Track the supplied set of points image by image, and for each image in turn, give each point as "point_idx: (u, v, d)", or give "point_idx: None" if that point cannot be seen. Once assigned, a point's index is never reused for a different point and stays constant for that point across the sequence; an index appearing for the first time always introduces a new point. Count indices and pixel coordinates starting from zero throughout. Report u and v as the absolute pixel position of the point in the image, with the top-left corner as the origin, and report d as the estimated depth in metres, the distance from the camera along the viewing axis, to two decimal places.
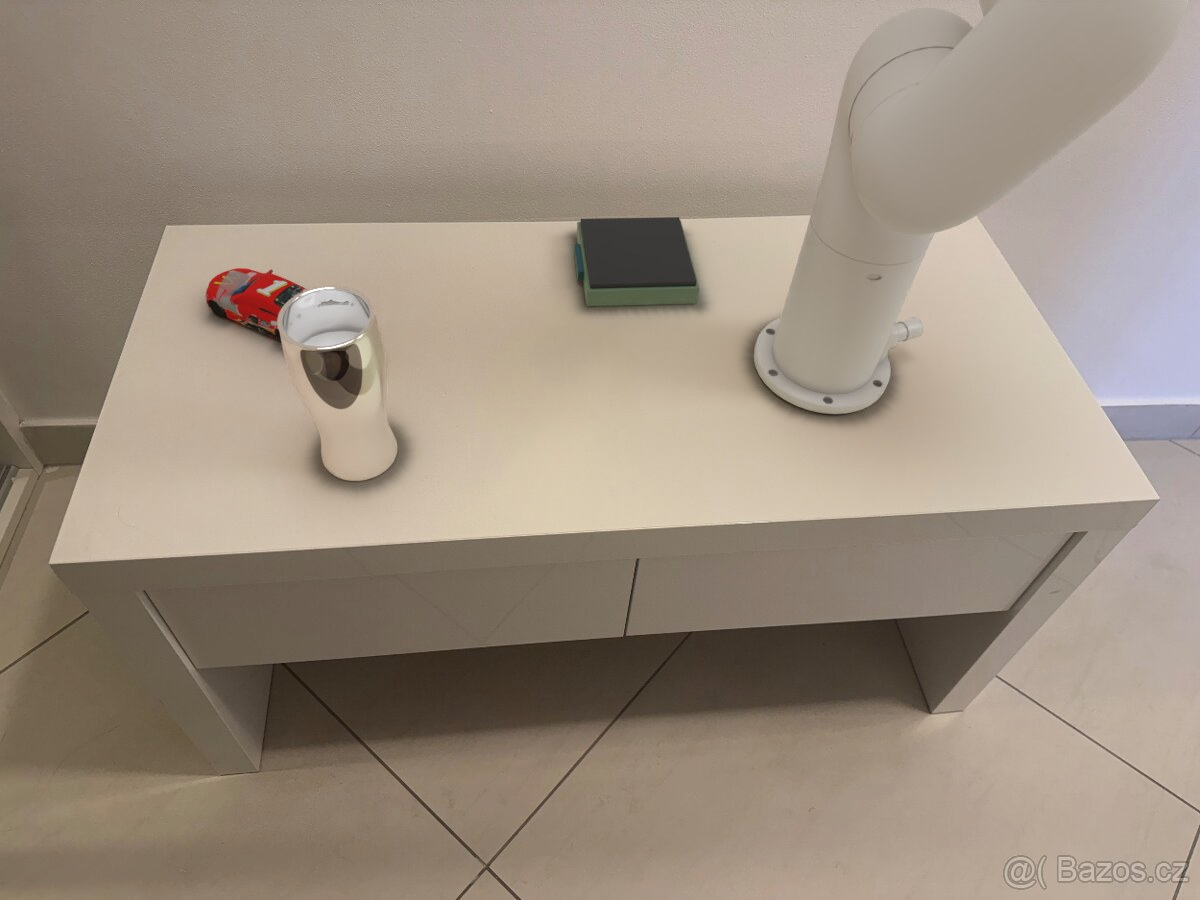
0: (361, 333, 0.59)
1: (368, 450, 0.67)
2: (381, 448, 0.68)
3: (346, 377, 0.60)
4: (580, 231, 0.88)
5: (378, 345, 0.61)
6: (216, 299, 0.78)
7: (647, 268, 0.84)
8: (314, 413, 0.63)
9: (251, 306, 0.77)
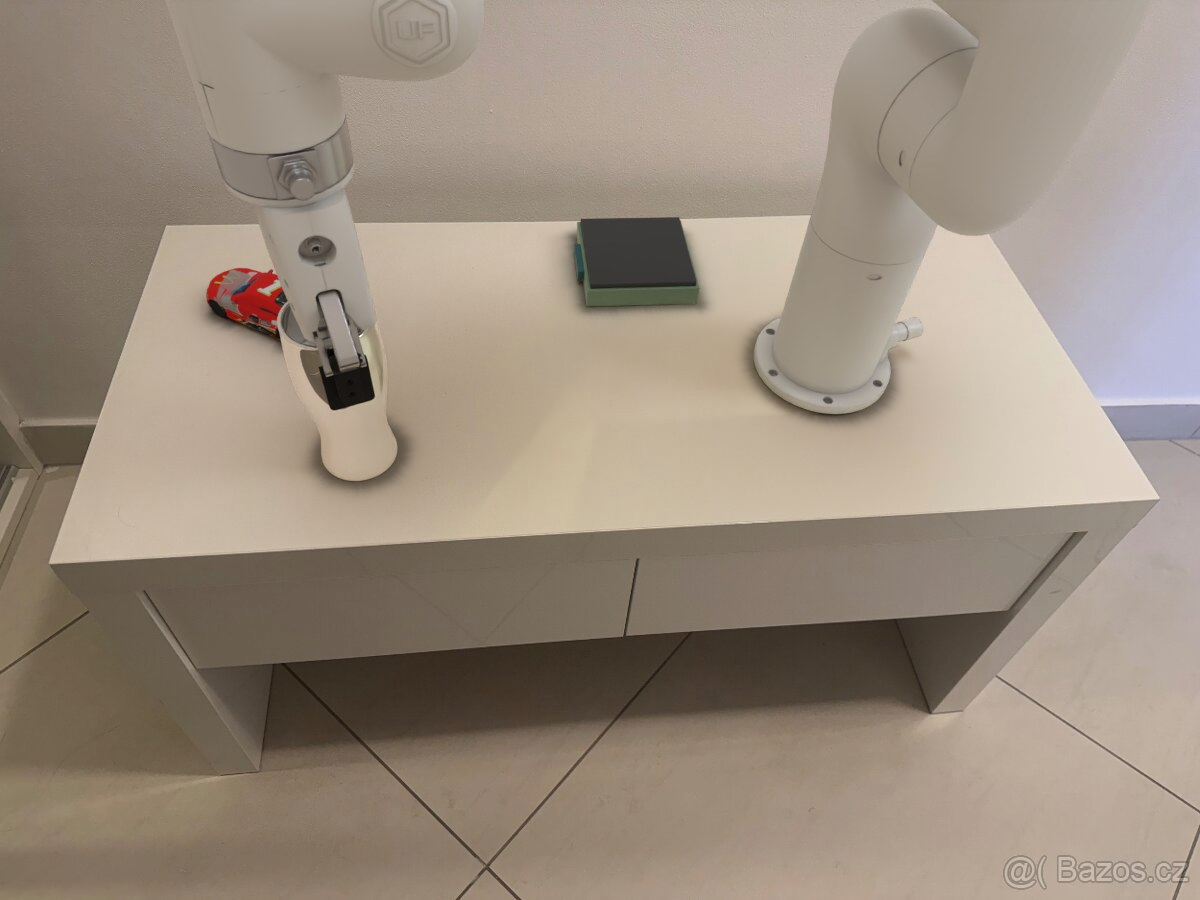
0: (361, 333, 0.59)
1: (368, 450, 0.67)
2: (381, 448, 0.68)
3: None
4: (580, 231, 0.88)
5: (378, 345, 0.61)
6: (217, 299, 0.78)
7: (647, 268, 0.84)
8: (314, 413, 0.63)
9: (252, 306, 0.77)
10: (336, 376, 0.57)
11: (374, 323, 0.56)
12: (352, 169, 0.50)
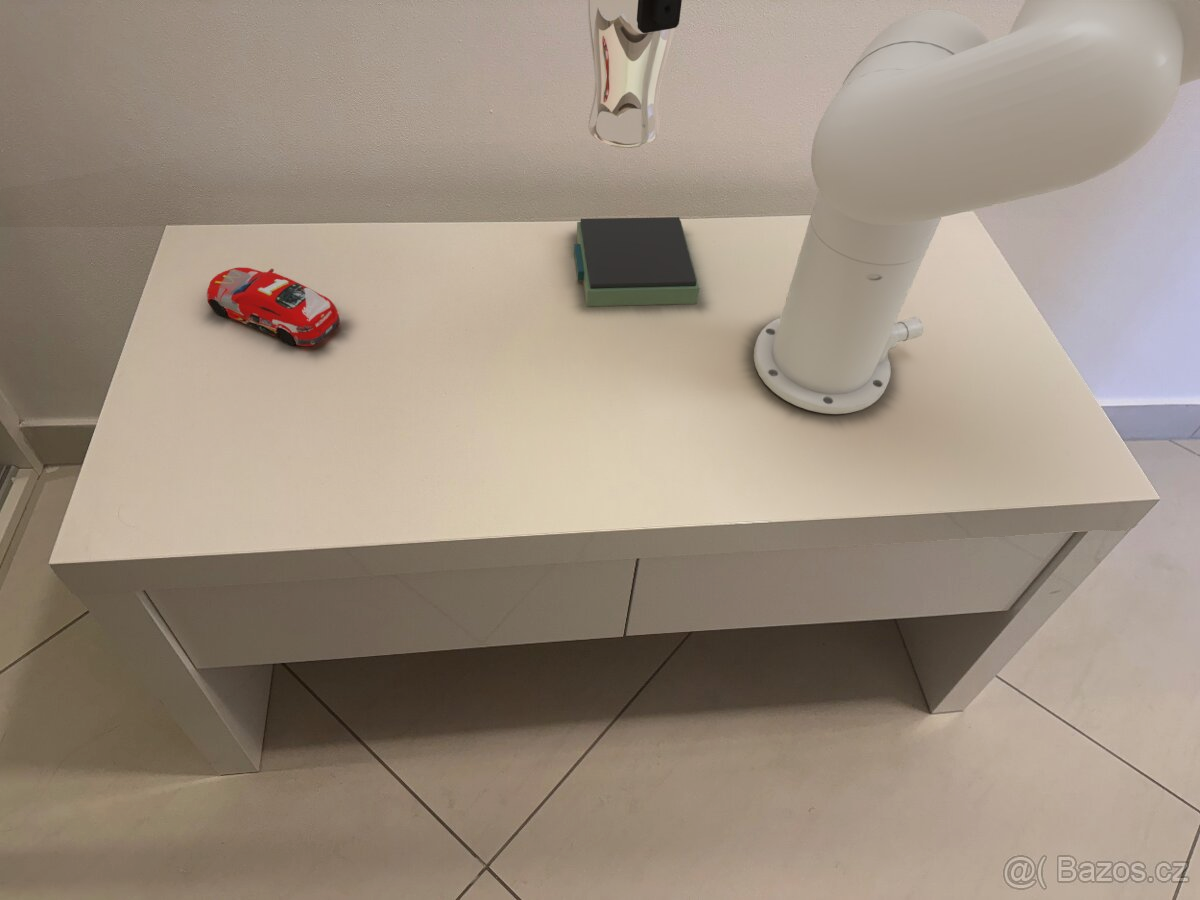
0: None
1: (645, 109, 0.69)
2: (654, 112, 0.70)
3: None
4: (580, 231, 0.88)
5: None
6: (217, 298, 0.78)
7: (647, 268, 0.84)
8: (611, 50, 0.65)
9: (252, 305, 0.77)
10: None
11: None
12: None
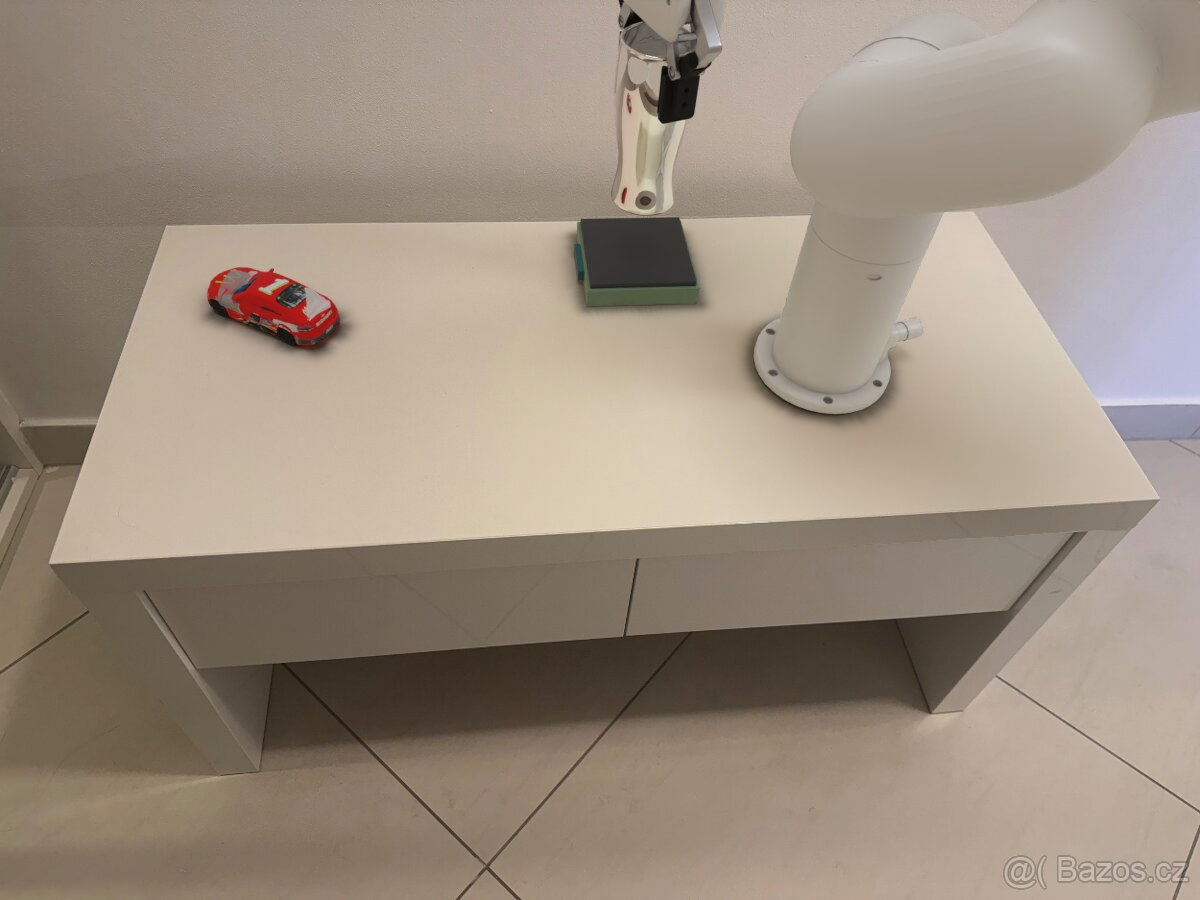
0: None
1: (663, 183, 0.78)
2: (670, 184, 0.79)
3: None
4: (580, 231, 0.88)
5: None
6: (218, 298, 0.78)
7: (647, 268, 0.84)
8: (634, 135, 0.73)
9: (253, 305, 0.77)
10: (679, 81, 0.68)
11: None
12: None
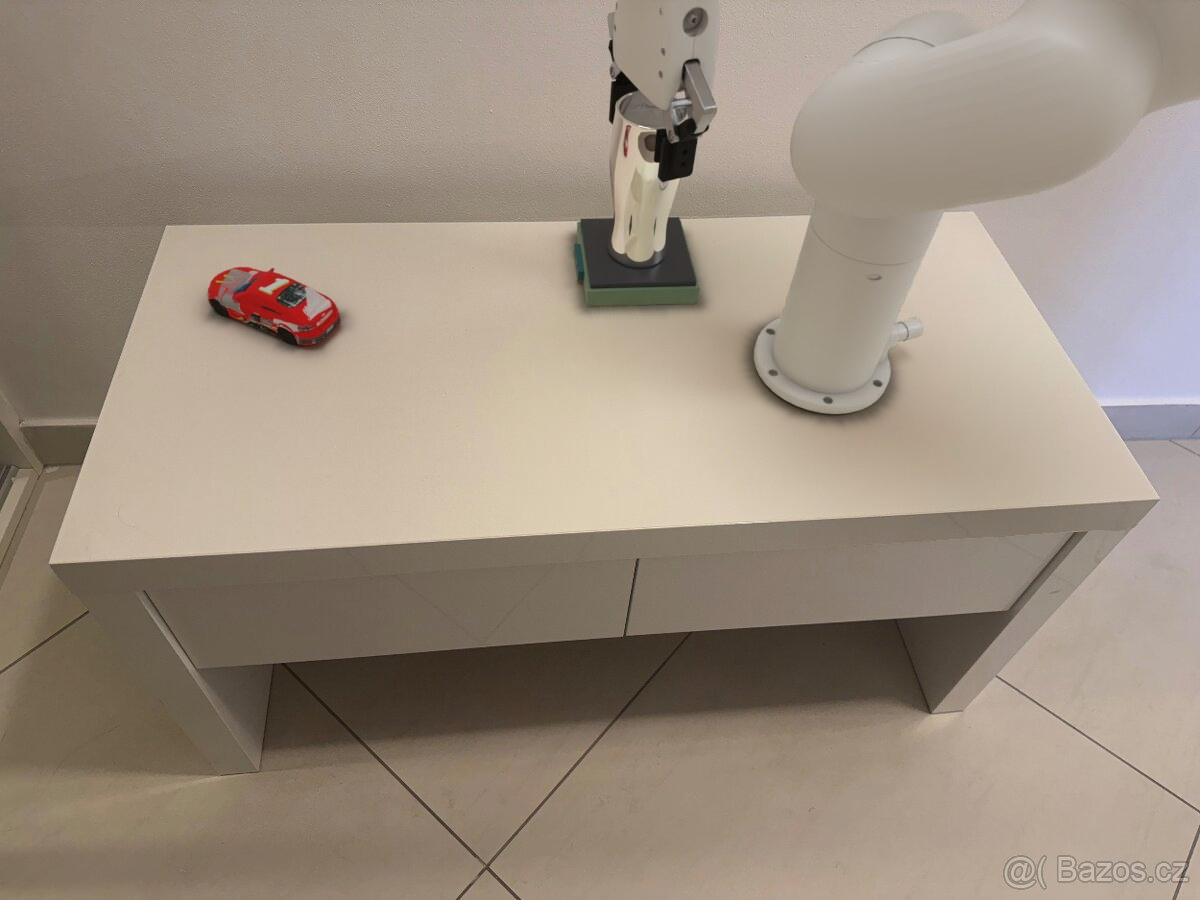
0: (685, 119, 0.74)
1: (656, 238, 0.82)
2: (663, 239, 0.83)
3: None
4: (580, 231, 0.88)
5: None
6: (218, 298, 0.78)
7: (647, 268, 0.84)
8: (628, 196, 0.78)
9: (253, 304, 0.77)
10: (678, 144, 0.71)
11: None
12: None
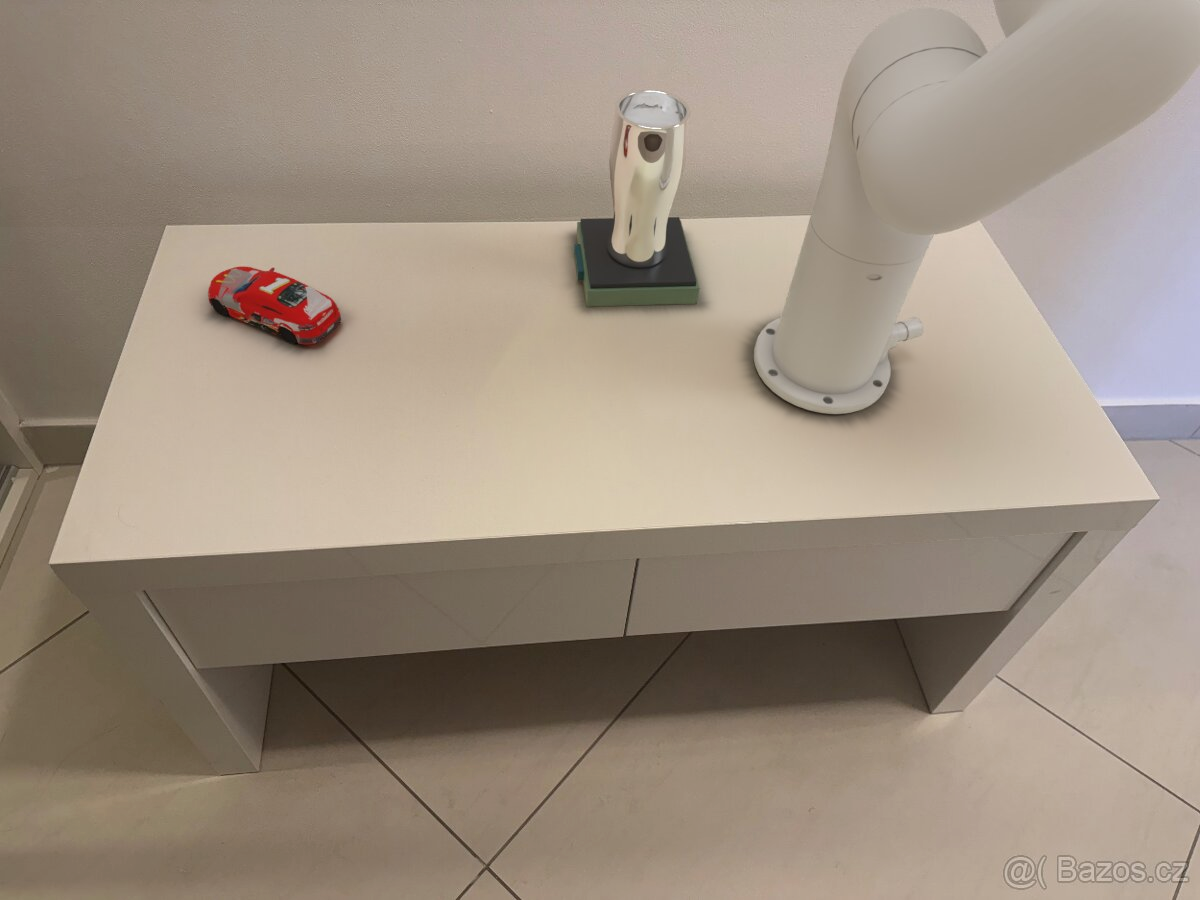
0: (685, 119, 0.74)
1: (656, 238, 0.82)
2: (663, 239, 0.83)
3: (668, 158, 0.75)
4: (580, 231, 0.88)
5: None
6: (218, 297, 0.79)
7: (647, 268, 0.84)
8: (628, 196, 0.78)
9: (254, 304, 0.77)
10: None
11: None
12: None
